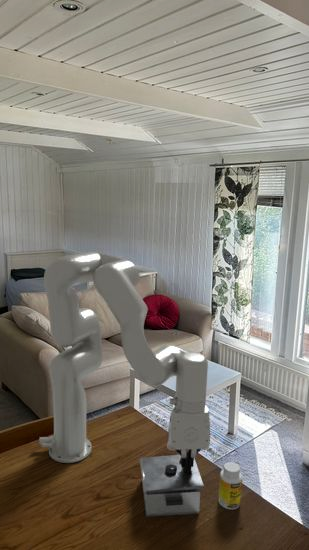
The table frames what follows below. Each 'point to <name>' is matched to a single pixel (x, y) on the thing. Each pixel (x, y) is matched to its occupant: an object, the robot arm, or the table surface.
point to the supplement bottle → (230, 486)
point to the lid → (168, 475)
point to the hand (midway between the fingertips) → (186, 468)
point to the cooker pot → (172, 502)
